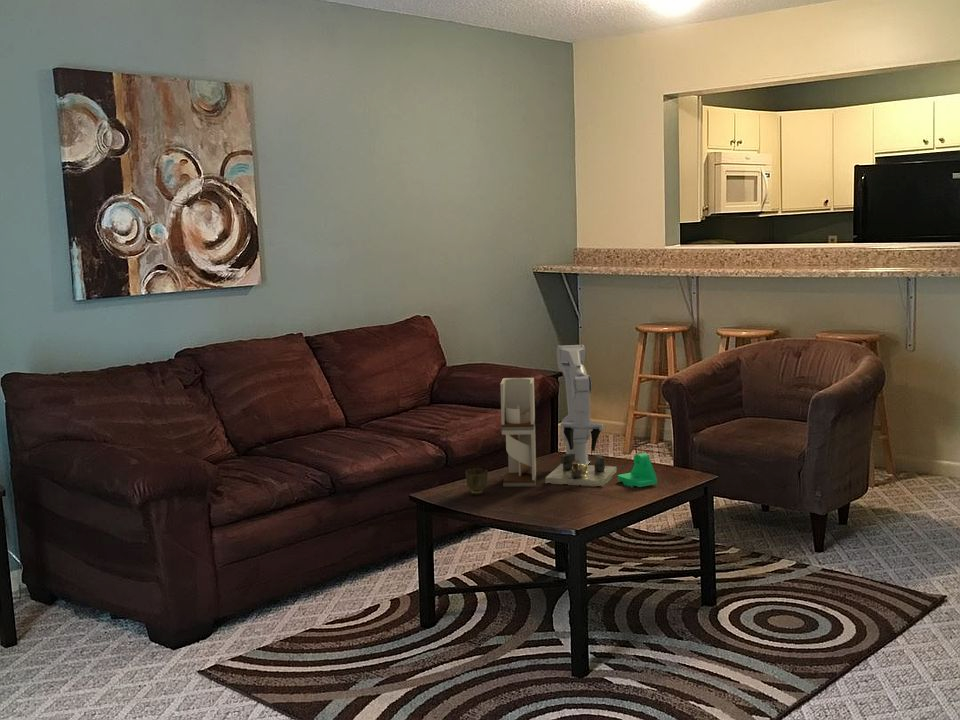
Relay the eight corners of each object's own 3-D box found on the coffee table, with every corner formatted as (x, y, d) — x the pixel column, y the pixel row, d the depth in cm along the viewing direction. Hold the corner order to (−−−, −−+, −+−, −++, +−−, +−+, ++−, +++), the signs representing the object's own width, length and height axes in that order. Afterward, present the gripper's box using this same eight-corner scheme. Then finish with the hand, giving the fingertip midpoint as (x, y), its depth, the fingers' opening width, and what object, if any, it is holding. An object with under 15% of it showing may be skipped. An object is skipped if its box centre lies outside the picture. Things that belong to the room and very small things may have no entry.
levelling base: (561, 469, 378) (560, 450, 377) (616, 472, 371) (616, 452, 370) (545, 483, 359) (544, 463, 358) (603, 486, 352) (603, 466, 351)
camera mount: (616, 482, 358) (616, 453, 356) (634, 479, 362) (634, 449, 360) (639, 490, 348) (638, 459, 346) (657, 486, 351) (657, 456, 350)
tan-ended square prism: (572, 474, 362) (572, 460, 361) (583, 474, 361) (582, 460, 360) (570, 478, 357) (569, 463, 356) (580, 478, 356) (580, 463, 355)
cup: (493, 493, 348) (492, 469, 347) (477, 498, 343) (476, 474, 342) (477, 489, 354) (476, 466, 353) (461, 494, 349) (460, 470, 348)
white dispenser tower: (505, 477, 368) (502, 378, 363) (536, 477, 367) (533, 377, 362) (503, 486, 357) (500, 383, 352) (534, 486, 356) (532, 383, 351)
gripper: (558, 412, 362) (559, 451, 364) (599, 413, 357) (600, 453, 359) (563, 408, 369) (564, 446, 371) (604, 410, 364) (605, 448, 366)
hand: (582, 449), depth 366 cm, fingers open, 7 cm apart
